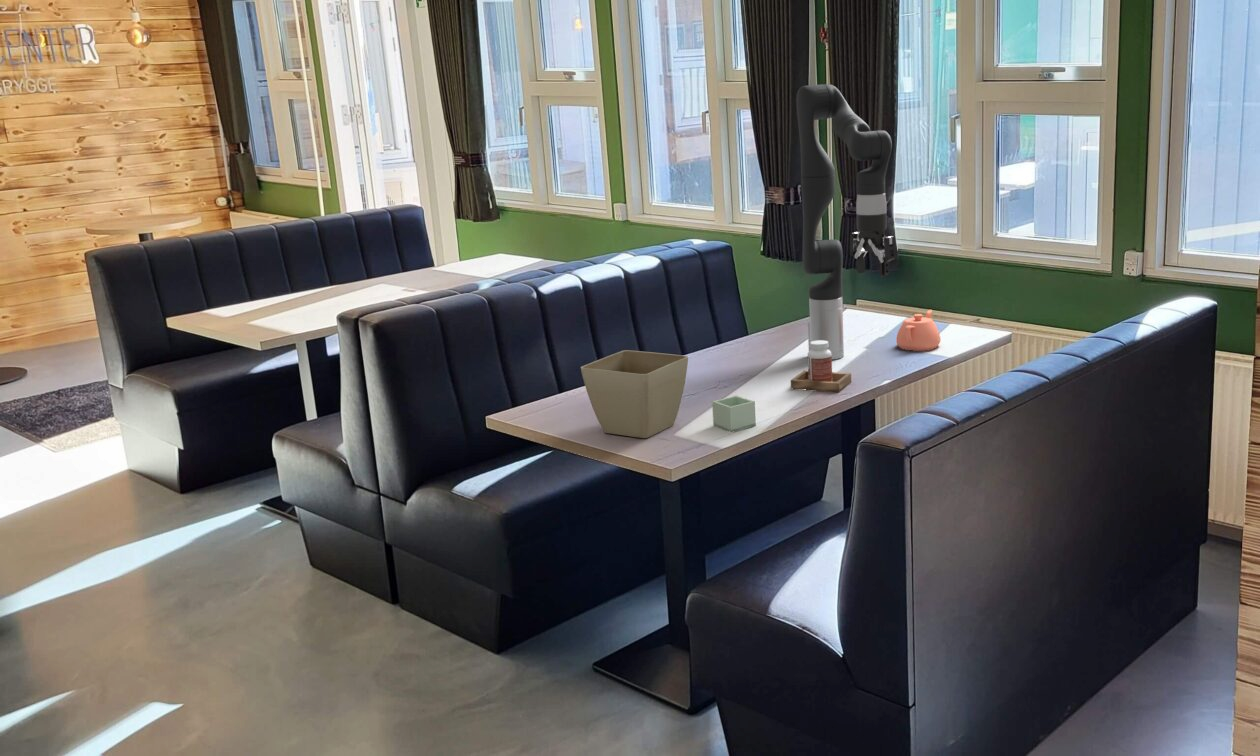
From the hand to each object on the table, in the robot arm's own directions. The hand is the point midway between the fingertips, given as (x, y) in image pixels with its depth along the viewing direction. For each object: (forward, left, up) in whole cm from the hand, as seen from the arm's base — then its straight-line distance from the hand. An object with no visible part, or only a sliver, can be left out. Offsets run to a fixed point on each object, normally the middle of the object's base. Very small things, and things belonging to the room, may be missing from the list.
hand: (872, 274), depth 314 cm
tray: (-6, -13, -28) cm, 32 cm away
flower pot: (-8, -68, -28) cm, 74 cm away
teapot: (-18, +34, -28) cm, 48 cm away
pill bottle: (-6, -13, -28) cm, 31 cm away
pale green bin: (+6, -50, -28) cm, 58 cm away
